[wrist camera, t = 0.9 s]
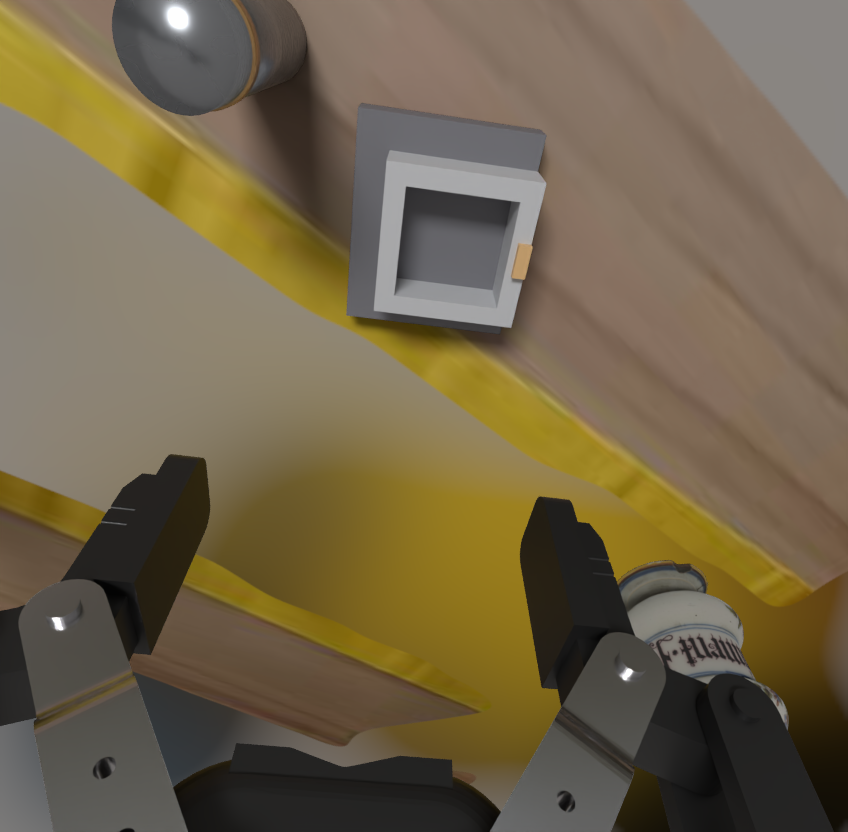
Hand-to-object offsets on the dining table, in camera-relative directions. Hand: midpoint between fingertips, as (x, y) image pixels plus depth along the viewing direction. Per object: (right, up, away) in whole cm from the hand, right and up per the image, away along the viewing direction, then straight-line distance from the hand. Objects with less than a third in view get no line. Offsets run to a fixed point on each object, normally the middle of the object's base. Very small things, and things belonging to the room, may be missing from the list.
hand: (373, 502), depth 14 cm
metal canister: (-8, +24, +18) cm, 31 cm away
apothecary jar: (+26, -16, +46) cm, 56 cm away
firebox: (+2, +15, +24) cm, 28 cm away
